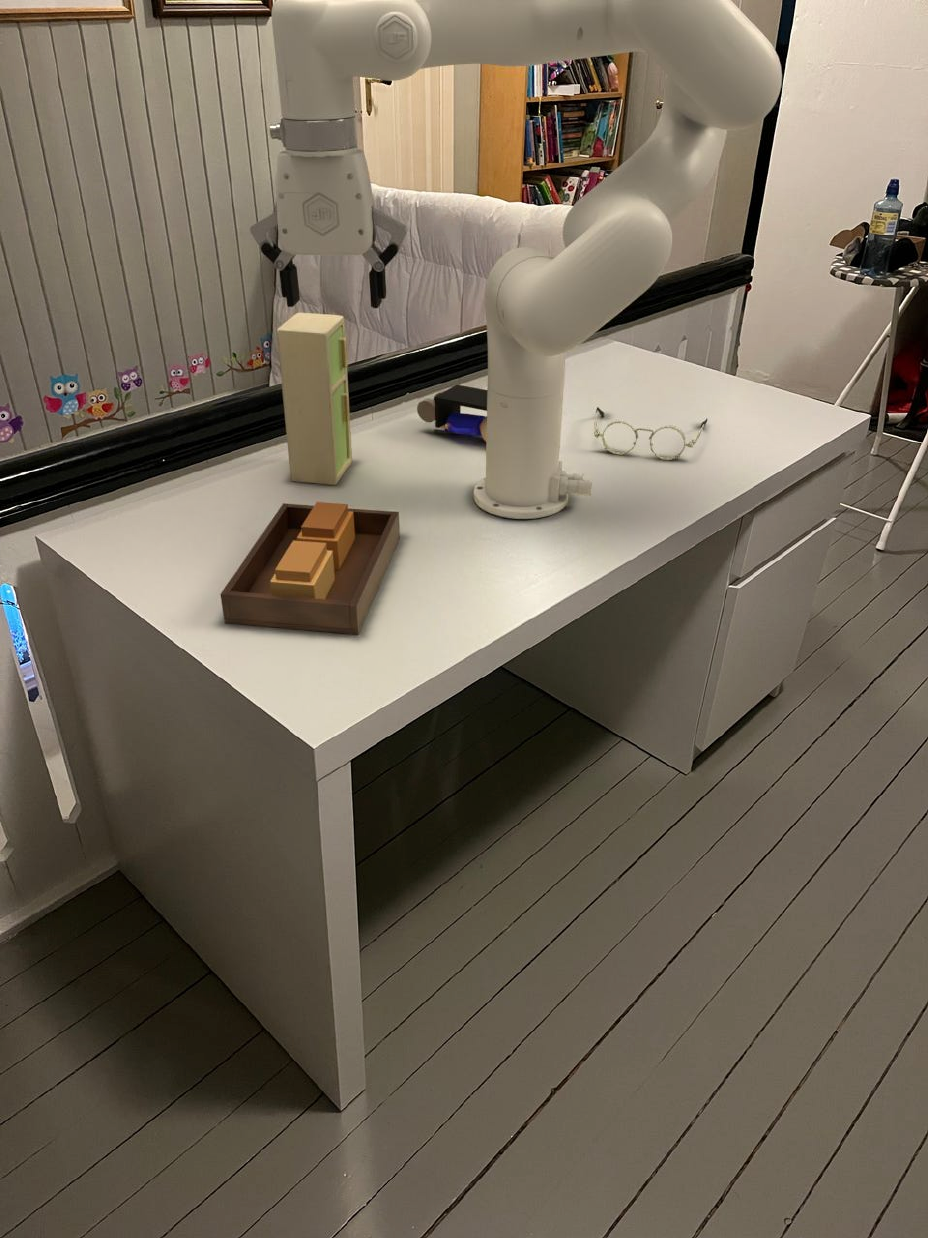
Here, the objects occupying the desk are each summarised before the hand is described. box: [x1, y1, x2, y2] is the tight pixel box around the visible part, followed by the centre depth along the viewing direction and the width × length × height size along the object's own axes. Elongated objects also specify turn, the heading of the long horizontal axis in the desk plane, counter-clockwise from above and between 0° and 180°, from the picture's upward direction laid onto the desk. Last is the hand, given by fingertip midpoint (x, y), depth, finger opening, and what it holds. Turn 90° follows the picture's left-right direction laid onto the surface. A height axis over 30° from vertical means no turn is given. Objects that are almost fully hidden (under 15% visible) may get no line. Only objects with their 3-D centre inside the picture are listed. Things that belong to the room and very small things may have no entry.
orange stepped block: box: [297, 501, 355, 570], centre depth 111 cm, size 5×8×5 cm, turn 172°
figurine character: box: [416, 384, 488, 442], centre depth 142 cm, size 7×8×15 cm
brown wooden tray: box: [219, 502, 401, 635], centre depth 108 cm, size 15×22×4 cm
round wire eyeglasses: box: [593, 406, 708, 461], centre depth 142 cm, size 17×15×5 cm
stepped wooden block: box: [270, 541, 335, 599], centre depth 103 cm, size 5×8×5 cm, turn 172°
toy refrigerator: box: [276, 312, 353, 486], centre depth 127 cm, size 8×7×21 cm
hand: (335, 304), depth 107 cm, fingers open, 9 cm apart
